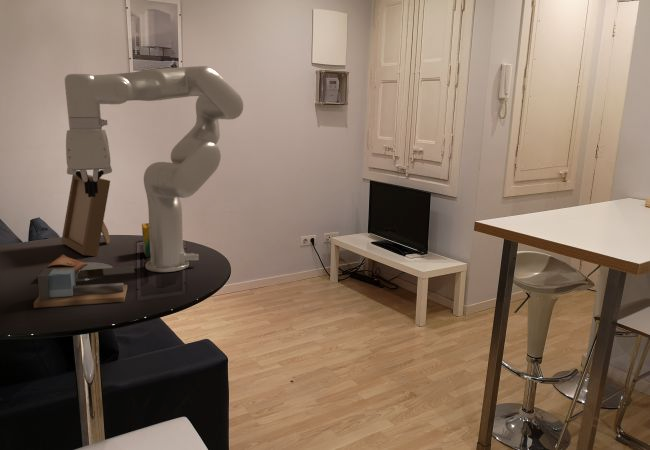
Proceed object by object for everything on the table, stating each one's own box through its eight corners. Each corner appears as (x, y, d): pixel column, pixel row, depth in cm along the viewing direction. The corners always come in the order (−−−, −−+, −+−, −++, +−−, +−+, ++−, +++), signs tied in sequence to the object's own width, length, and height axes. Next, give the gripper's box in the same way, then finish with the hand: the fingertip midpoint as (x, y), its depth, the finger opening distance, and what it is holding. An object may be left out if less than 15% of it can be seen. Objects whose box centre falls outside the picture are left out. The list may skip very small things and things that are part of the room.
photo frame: (83, 258, 167) (77, 179, 162) (61, 244, 183) (55, 172, 178) (129, 250, 177) (125, 176, 172) (104, 238, 193) (100, 170, 188)
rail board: (127, 288, 139) (126, 277, 139) (124, 301, 130) (123, 290, 129) (43, 293, 134) (42, 282, 133) (34, 307, 125) (32, 295, 124)
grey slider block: (76, 289, 134) (74, 268, 133) (72, 296, 129) (70, 274, 128) (54, 290, 132) (52, 269, 131) (49, 297, 127) (47, 275, 126)
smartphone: (133, 268, 159) (79, 272, 153) (133, 265, 159) (79, 270, 153) (135, 275, 152) (78, 280, 147) (135, 272, 152) (78, 277, 146)
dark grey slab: (55, 290, 133) (53, 267, 132) (49, 299, 127) (46, 276, 125) (46, 291, 133) (44, 268, 131) (39, 300, 126) (37, 276, 125)
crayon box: (143, 252, 176) (141, 217, 174) (152, 251, 177) (150, 217, 175) (145, 257, 170) (143, 222, 167) (155, 256, 171) (153, 221, 168)
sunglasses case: (71, 281, 144) (56, 261, 142) (49, 294, 144) (33, 275, 142) (89, 263, 161) (75, 245, 160) (68, 275, 161) (55, 257, 159)
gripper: (117, 124, 139) (123, 192, 143) (54, 124, 134) (62, 195, 139) (116, 125, 132) (122, 197, 137) (50, 125, 127) (58, 200, 132)
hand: (92, 196), depth 138 cm, fingers closed
